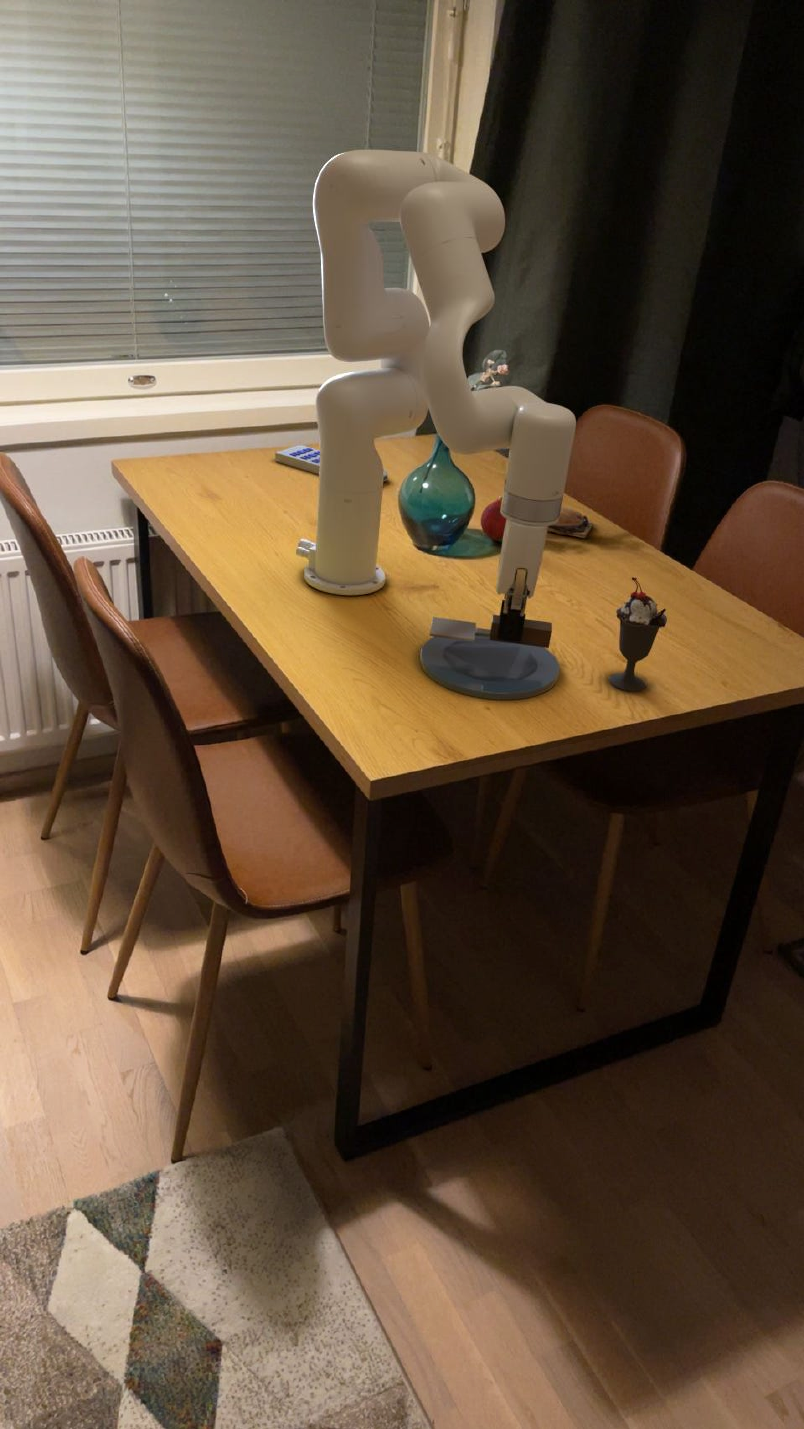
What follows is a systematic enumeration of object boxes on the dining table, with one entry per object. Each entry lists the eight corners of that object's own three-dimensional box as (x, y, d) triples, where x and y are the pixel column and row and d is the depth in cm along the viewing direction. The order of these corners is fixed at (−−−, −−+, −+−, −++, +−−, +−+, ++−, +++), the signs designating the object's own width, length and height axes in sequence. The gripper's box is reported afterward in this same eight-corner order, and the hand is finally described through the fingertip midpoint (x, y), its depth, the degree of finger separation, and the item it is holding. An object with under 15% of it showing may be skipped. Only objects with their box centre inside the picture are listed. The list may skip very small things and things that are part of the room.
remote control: (300, 454, 229) (300, 443, 228) (391, 480, 218) (392, 469, 217) (275, 461, 223) (275, 450, 222) (367, 489, 212) (368, 478, 211)
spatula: (429, 636, 150) (431, 618, 148) (432, 619, 154) (434, 602, 153) (548, 652, 149) (552, 635, 148) (548, 635, 154) (551, 618, 152)
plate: (393, 669, 150) (394, 662, 150) (461, 623, 165) (461, 616, 164) (521, 715, 142) (522, 708, 142) (580, 662, 157) (581, 655, 156)
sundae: (596, 670, 155) (616, 569, 148) (644, 672, 156) (666, 572, 148) (608, 693, 149) (629, 590, 142) (657, 695, 150) (681, 592, 143)
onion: (509, 549, 192) (515, 504, 188) (475, 544, 193) (481, 499, 189) (513, 537, 197) (519, 493, 193) (480, 532, 198) (486, 488, 194)
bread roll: (594, 526, 206) (598, 507, 204) (584, 540, 199) (588, 520, 197) (538, 514, 209) (541, 495, 207) (526, 528, 202) (529, 508, 200)
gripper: (503, 479, 149) (484, 605, 158) (499, 523, 135) (478, 657, 144) (559, 487, 149) (537, 612, 158) (561, 531, 135) (536, 666, 144)
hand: (509, 633), depth 151 cm, fingers closed on spatula, 2 cm apart
